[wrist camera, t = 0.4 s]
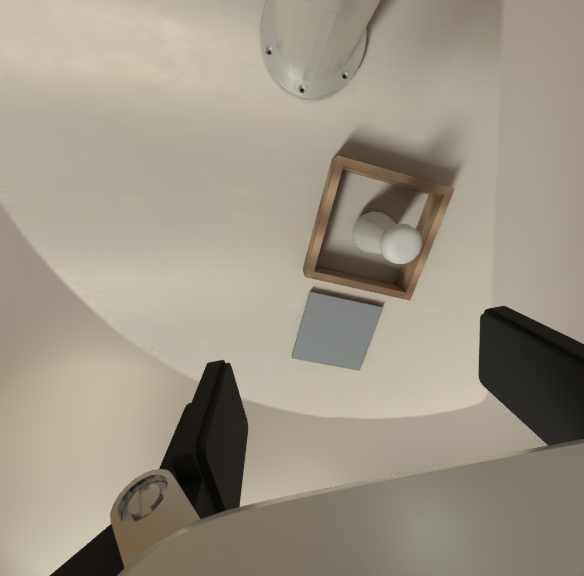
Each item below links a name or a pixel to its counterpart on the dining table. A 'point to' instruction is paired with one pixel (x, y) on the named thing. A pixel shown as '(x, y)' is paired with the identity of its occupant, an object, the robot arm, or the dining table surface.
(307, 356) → the mat
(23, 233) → the dining table surface
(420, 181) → the bin
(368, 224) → the salt shaker
